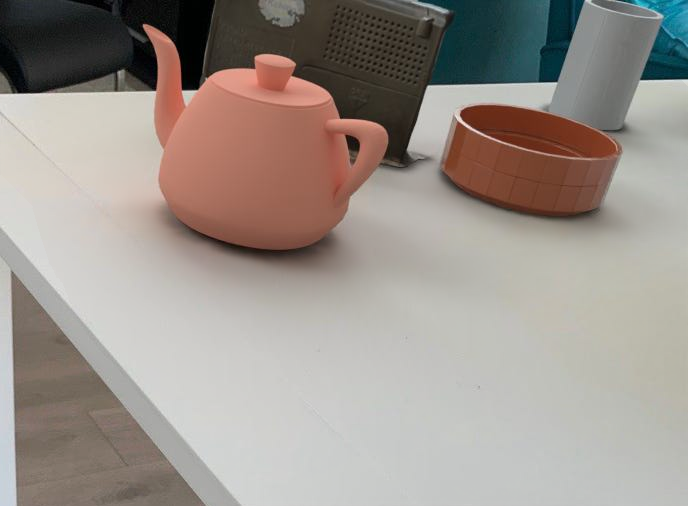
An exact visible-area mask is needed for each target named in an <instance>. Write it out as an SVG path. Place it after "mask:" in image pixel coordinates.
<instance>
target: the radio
mask: <svg viewBox="0 0 688 506" xmlns="http://www.w3.org/2000/svg"><path fill="white" fill-rule="evenodd" d="M455 17H456V11H454V10H453V9H447V8H445V7H443V6H439V5H435V4H433V3H426V2H422V1H418V0H214V7H213V11H212V16H211V22H210V27H209V34H208V38H207V41H206V47H205V52H204V58H203V66H202V75H201V77H200V80H199V88H200V87H201V86H202V85H203V84H204V82H205V81H206V80H207V79H208V78H209V77H210V76H211V75H213V74H214V73H216V72H219V71H222V70H227V69H242V68H244V69H256V68H255V56H258V55H261V54H272V55H278V56H282V57H286V58H288V59H290V60H292V61H293V62H294V63H295V64H296V66H295V69H294V71H293V73H292V75H291V76H293V77H296V78H299V79H302V80H305V81H308V82H311V83H313V84H315V85H318V86H320V87H322V88H323V89H325V90H326V91H327V92H328V93H329V94H330V95H331V96H332V98H333V101H334V103H335V106H336V108H337V111H338V114H339V117H340V119H357V120H365V121H371V122H374V123H377V124H379V125H381V126H382V127H383V128H384V129H385V130H386V132H387V134H388V145H387V149H386V152H385V154H384V156H383V158H382V160H381V162H380V164H386V165H390V166H393V167H400V168H401V167H407V166H409V165H410V164H411V163H413V162H416V161H417V160H424V159H426V157H424V156H422V155H419V154H416V153H414V152H411V151H409V150H408V148H409V146H410V142H411V138H412V135H413V133H414V130H415V127H416V125H417V122H418V118H419V115H420V111H421V108H422V104H423V101H424V98H425V94H426V91H427V88H428V87H429V84H430V82H431V81H432V78H433V73H434V70H435V67H436V64H437V59H438V56H439V53H440V50H441V47H442V44H443V40H444V37H445V34H446V33H447V30H448V29H449V28H450V26H451V25H452V24H453V22H454V20H455ZM345 138H346V142H347V146H348V151H349V156H350V160H356V159H357V156H358V154H359V151H360V142H359V140H358V139H357V138H356V137H353V136H350V135H345Z"/></svg>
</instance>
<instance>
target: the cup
mask: <svg viewBox="0 0 688 506" xmlns="http://www.w3.org/2000/svg"><path fill="white" fill-rule="evenodd" d="M663 21H664V15H663V14H662V13H661V12H658V11H656V10H653V9H650V8H647V7H644V6H641V5H637V4H633V3H630V2H624V1H619V0H584V2H583V5H582V7H581V10H580V13H579V17H578V19H577V22H576V26H575V30H574V32H573V34H572V38H571V40H570V43H569V47H568V50H567V52H566V55H565V58H564V59H565V60H564V62H563V65H562V67H561V71H560V74H559V77H558V79H557V83H556V86H555V89H554V91H553V95H552V97H551V100H550V103H549V106H548V112H550V113H554V114H557V115H561V116H564V117H568V118H571V119H574V120H576V121H579V122H582V123H585V124H587V125H590V126H592V127H594V128H596V129H598V130H601V131H618V130H620V129H622V128H623V126H624V123H625V120H626V117H627V115H628V112H629V109H630V107H631V104H632V102H633V99H634V96H635V94H636V91H637V88H638V86H639V83H640V81H641V78H642V76H643V72H644V70H645V68H646V64H647V62H648V60H649V57H650V55H651V52H652V49H653V47H654V43H655V42H656V38H657V36H658V33H659V30H660V28H661V26H662V23H663Z"/></svg>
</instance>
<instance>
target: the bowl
mask: <svg viewBox="0 0 688 506" xmlns="http://www.w3.org/2000/svg"><path fill="white" fill-rule="evenodd" d="M623 154H624V149H623V146H622V144H620V142H619V141H617V139H616V138H614V137H612V136H611V135H610V134H607V133H606V132H605V131H604V130H599V129H596V128H594V127H592V126H590V125H587V124H585V123H582V122H579V121H576V120H574V119H571V118H568V117H564V116H561V115H557V114H554V113H550V112H549V111H546V110H541V109H537V108H531V107H527V106H520V105H515V104H507V103H498V102H497V103H495V102H494V103H493V102H476V103H475V102H473V103H468V104H462V105H460V106H458V107H456V108H455V109H454V112H453V116H452V119H451V122H450V126H449V129H448V133H447V138H446V140H445V144H444V146H443V151H442V155H441V159H440V162H439V167H440V168H441V170H442V172H443V173H444V174H445V175H446V176H447V177H449V178H450V180H451V181H452V182H453V184H455V185H456V186H457V187H458V188H459V189H461V190H463V191H464V192H466V193H467V194H469V195H471V196H473V197H475V198H478V199H480V200H482V201H485V202H487V203H490V204H493V205H495V206H498V207H501V208H505V209H509V210H513V211H517V212H522V213H527V214H532V215H533V214H534V215H541V216H550V217H551V216H552V217H567V216H575V215H579V214H582V213H584V212H589V211H593V210H595V209H598V208H599V207H601V206H602V204H604V202H605V200H606V197H607V194H608V192H609V189H610V187H611V184H612V182H613V179H614V176H615V174H616V171H617V169H618V167H619V164H620V161H621V159H622V156H623Z"/></svg>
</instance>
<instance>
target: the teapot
mask: <svg viewBox="0 0 688 506" xmlns="http://www.w3.org/2000/svg"><path fill="white" fill-rule="evenodd" d="M142 28H143V30H144V32H145V33H146V35H147V36H148V38H149V40H150V42H151V43H152V46H153V49H154V51H155V56H156V60H157V81H156V82H157V83H156V90H155V99H154V109H153V123H154V128H155V134H156V136H157V139H158V141H159V144H160V146H161V148H162V149H163V153H162V156H161V159H160V165H159V169H158V170H159V171H158V179H157V181H158V185H159V189H160V192H161V194H162V196H163V198H164V200H165V202H166V204H167V205H168V207H169V208H170V209H171V211H172V213H173V214H174V216H175V217H176V218H177V219H178V220H179V221H180V222H182V223H183V224H184V225H185V226H187V227H189V228H191V229H192V230H194V231H197V232H198V233H201V234H204V235H206V236H208V237H211V238H213V239H215V240H219V241H223V242H226V243H228V244H233V245H237V246H243V247H247V248H254V249H261V250H275V251H276V250H277V251H281V250H295V249H299V248H304V247H308V246H311V245H313V244H316V243H317V242H318V241H320V240H321V239H323V238H324V237H325V236H327V235H328V234H329V233H330V232H331V231H333V230H334V229H335V228H336V227H337V226H338V225H339V224H340V223H341V222H342V221H343V220H344V218H345V216H346V214H347V212H348V211H349V205H350V200H351V197H352V196H353V195H354V194H355V193H356V192H357V191H358V190H359V189H360V188H361V187H362V186H364V184H365V183H366V182H367V181H368V179H370V177H371V176H372V175H373V174H374V172H376V170H377V168H378V167H379V165H380V164H381V160H382V158H383V156H384V154H385V152H386V149H387V145H388V134H387V132H386V130H385V129H384V128H383V127H382V126H381V125H379V124H377V123H374V122H371V121H365V120H357V119H340V117H339V114H338V111H337V108H336V106H335V103H334V101H333V98H332V96H331V95H330V94H329V93H328V92H327V91H326V90H325V89H323V88H322V87H320V86H318V85H315V84H313V83H311V82H308V81H305V80H302V79H299V78H296V77H293V76H291V75H292V73H293V71H294V69H295V66H296V64H295V63H294V62H293V61H292V60H290V59H288V58H286V57H282V56H278V55H272V54H261V55H258V56H255V68H256V69H244V68H242V69H227V70H222V71H219V72H216V73H214V74H213V75H211V76H210V77H209V78H208V79H207V80H206V81H205V82H204V84H203V85H202V86H201V87H200V86H199V88H198V90H196V92H195V94H194V95H193V97H191V99H190V101H189V102H188V104H187V105H186V103H185V98H184V96H183V95H184V94H183V89H182V68H181V60H180V56H179V52H178V50H177V47H176V45H175V43H174V41H172V39H171V38H169V36H168V35H166V34H165V33H164V32H162V31H161V30H160V29H157V28H156V27H155V26H153V25H150V24H146V23H143V24H142ZM345 135H350V136H353V137H356V138H357V139H358V140H359V142H360V151H359V154H358V156H357V159H355V160H354V163H353V165H352V164H351V159H350V156H349V151H348V146H347V142H346V138H345ZM351 165H352V166H351Z"/></svg>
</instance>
